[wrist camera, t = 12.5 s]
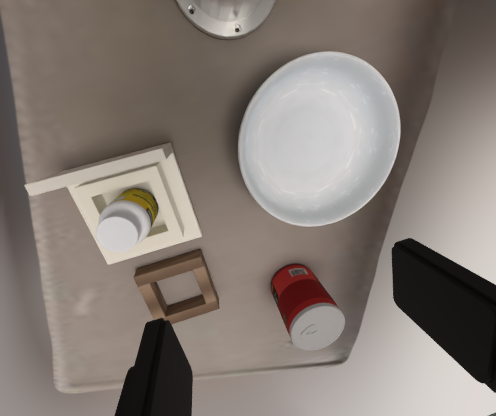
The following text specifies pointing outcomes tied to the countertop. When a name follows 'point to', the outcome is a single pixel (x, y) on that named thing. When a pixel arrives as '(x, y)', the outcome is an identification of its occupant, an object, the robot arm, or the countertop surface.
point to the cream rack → (126, 177)
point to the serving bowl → (319, 138)
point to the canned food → (306, 308)
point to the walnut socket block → (172, 267)
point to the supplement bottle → (127, 220)
